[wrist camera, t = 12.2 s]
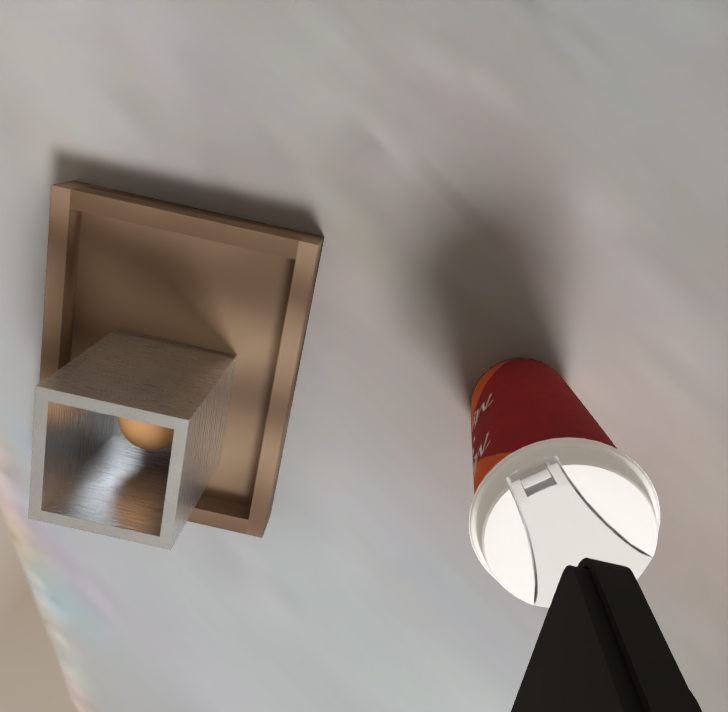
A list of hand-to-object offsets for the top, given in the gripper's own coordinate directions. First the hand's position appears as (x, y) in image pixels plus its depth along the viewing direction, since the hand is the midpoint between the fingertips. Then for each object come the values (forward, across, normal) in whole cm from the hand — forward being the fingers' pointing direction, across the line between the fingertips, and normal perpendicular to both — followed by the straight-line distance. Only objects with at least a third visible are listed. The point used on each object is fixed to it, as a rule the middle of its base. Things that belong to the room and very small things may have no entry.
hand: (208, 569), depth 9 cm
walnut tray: (+30, +9, +10) cm, 33 cm away
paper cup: (+31, -11, +8) cm, 33 cm away
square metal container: (+29, +9, +12) cm, 33 cm away
